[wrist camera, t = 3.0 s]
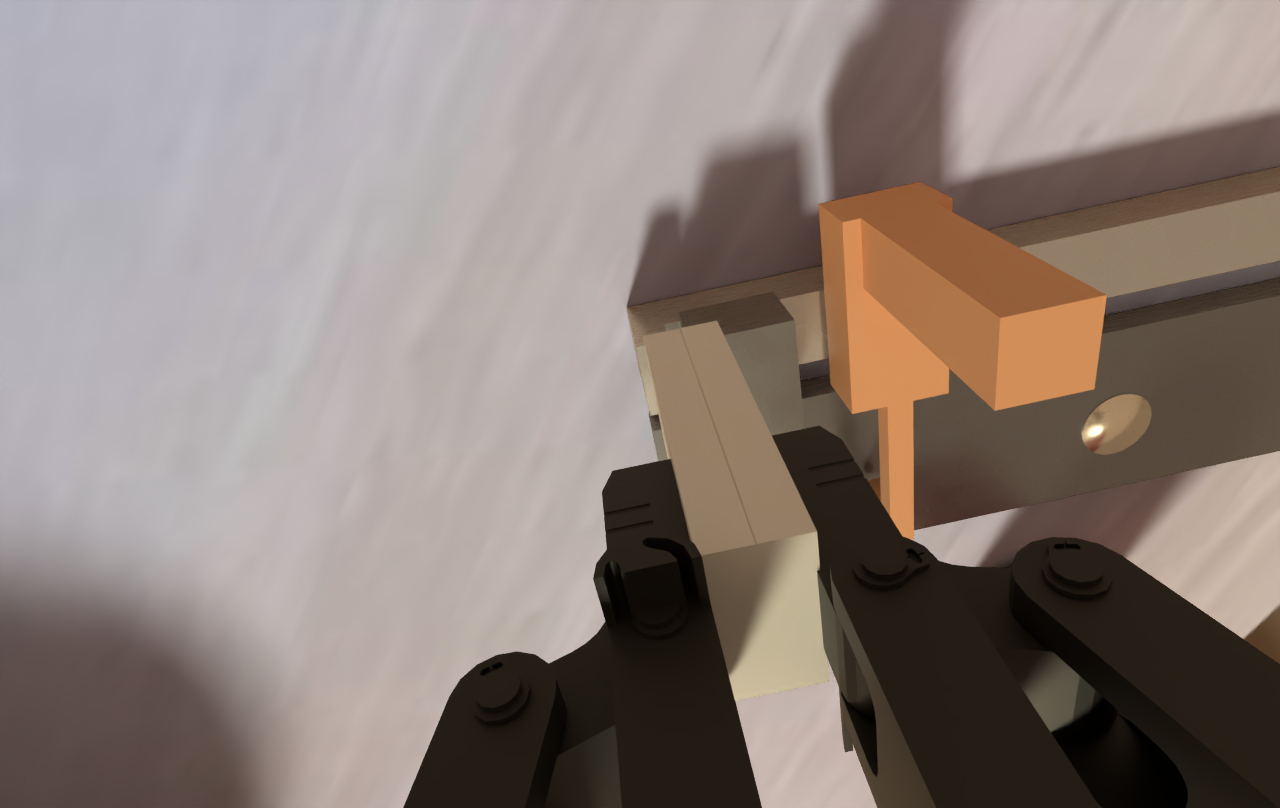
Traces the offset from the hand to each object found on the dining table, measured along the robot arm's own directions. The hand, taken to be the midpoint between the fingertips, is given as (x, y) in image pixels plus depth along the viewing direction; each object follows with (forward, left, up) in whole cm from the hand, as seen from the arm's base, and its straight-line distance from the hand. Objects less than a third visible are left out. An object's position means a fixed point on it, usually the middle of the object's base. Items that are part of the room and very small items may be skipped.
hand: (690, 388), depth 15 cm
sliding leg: (+7, -5, -8) cm, 12 cm away
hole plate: (+11, -10, -10) cm, 18 cm away
